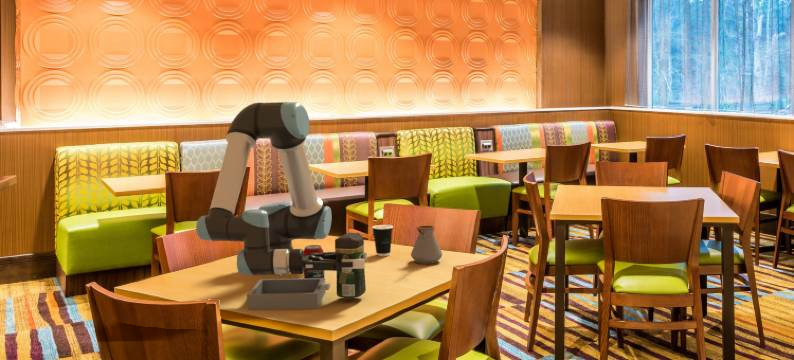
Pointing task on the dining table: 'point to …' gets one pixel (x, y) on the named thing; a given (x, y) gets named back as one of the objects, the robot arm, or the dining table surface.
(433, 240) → the coffee pot
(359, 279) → the coffee jar
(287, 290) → the tray
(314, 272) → the beverage can
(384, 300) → the dining table surface
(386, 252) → the dixie cup
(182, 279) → the dining table surface
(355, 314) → the dining table surface
